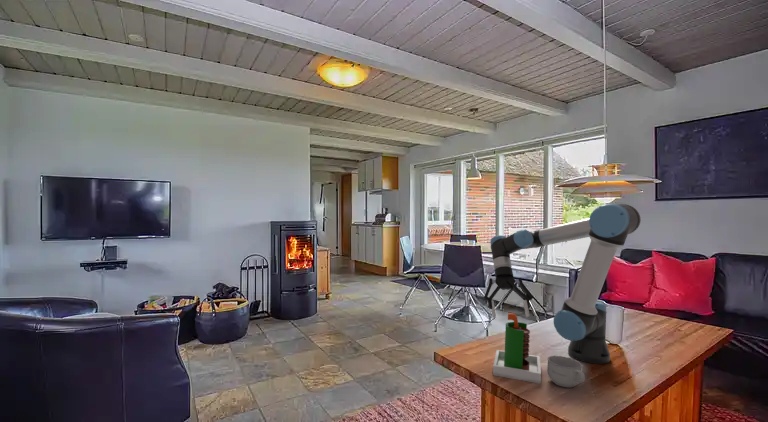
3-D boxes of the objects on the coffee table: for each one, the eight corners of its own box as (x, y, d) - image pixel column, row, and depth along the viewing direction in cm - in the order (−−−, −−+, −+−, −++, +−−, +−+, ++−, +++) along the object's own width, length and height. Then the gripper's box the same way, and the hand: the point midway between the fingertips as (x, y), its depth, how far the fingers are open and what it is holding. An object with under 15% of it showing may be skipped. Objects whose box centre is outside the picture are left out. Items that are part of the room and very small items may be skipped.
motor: (531, 374, 134) (532, 319, 134) (505, 372, 136) (506, 317, 136) (527, 363, 144) (528, 311, 144) (502, 360, 146) (504, 309, 145)
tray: (539, 365, 144) (539, 356, 144) (540, 383, 130) (540, 373, 129) (496, 358, 150) (496, 349, 150) (492, 375, 135) (493, 365, 135)
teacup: (541, 376, 135) (541, 354, 135) (569, 375, 136) (570, 354, 136) (562, 396, 121) (563, 372, 121) (594, 395, 122) (595, 371, 122)
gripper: (529, 272, 168) (539, 319, 156) (473, 272, 170) (478, 319, 158) (534, 265, 161) (544, 313, 150) (475, 265, 163) (481, 313, 152)
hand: (510, 316), depth 154 cm, fingers open, 13 cm apart
